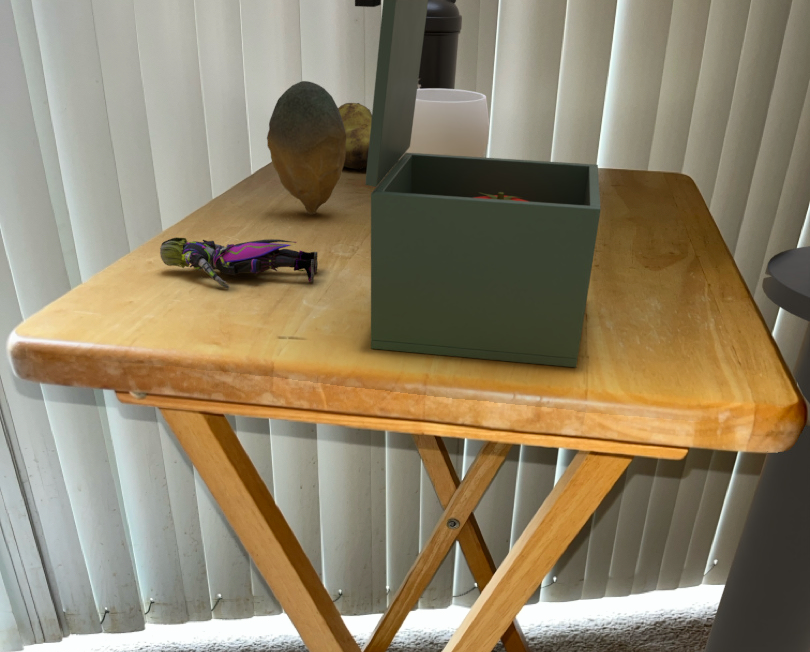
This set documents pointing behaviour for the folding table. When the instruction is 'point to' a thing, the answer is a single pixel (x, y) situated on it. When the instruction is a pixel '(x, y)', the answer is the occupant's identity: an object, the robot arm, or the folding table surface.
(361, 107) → the potato
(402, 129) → the lid
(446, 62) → the water bottle
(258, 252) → the character figure
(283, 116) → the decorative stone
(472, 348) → the storage box
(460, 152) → the cup
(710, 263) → the folding table surface
